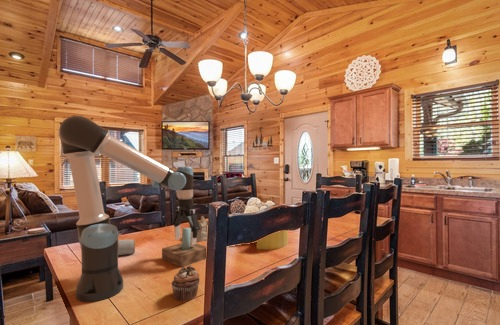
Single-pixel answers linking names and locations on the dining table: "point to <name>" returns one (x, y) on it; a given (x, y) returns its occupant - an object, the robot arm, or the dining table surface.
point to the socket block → (184, 254)
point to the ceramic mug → (126, 247)
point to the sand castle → (201, 230)
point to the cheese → (273, 241)
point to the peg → (186, 238)
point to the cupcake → (185, 284)
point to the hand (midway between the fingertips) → (185, 241)
